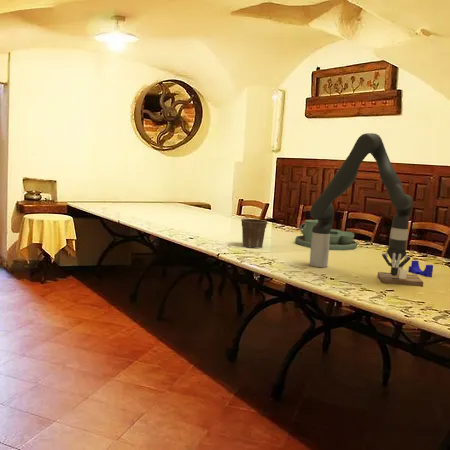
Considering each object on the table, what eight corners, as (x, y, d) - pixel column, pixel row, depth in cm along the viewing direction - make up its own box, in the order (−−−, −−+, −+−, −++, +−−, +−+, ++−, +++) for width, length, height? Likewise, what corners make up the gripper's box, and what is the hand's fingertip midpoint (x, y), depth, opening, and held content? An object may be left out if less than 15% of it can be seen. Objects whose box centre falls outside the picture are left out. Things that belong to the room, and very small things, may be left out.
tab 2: (398, 277, 237) (398, 268, 237) (404, 277, 237) (405, 269, 236) (399, 278, 234) (400, 270, 234) (406, 279, 234) (406, 270, 233)
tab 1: (394, 273, 246) (395, 265, 245) (400, 273, 245) (401, 265, 245) (395, 274, 243) (396, 266, 242) (402, 275, 243) (402, 266, 242)
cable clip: (408, 272, 263) (409, 260, 263) (415, 271, 265) (416, 260, 264) (424, 277, 252) (425, 265, 251) (431, 277, 254) (433, 265, 253)
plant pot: (271, 248, 312) (273, 221, 310) (251, 249, 302) (252, 222, 300) (254, 243, 325) (255, 218, 323) (234, 245, 315) (235, 219, 313)
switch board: (377, 275, 249) (377, 271, 249) (416, 279, 246) (416, 274, 246) (381, 282, 234) (382, 278, 234) (422, 286, 231) (423, 281, 231)
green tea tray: (354, 253, 312) (356, 226, 310) (289, 246, 325) (291, 220, 322) (358, 244, 350) (361, 220, 348) (300, 238, 362) (302, 215, 360)
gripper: (412, 238, 236) (407, 275, 238) (382, 235, 238) (377, 272, 240) (415, 240, 229) (410, 278, 231) (384, 237, 231) (379, 275, 233)
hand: (393, 275), depth 236 cm, fingers closed
